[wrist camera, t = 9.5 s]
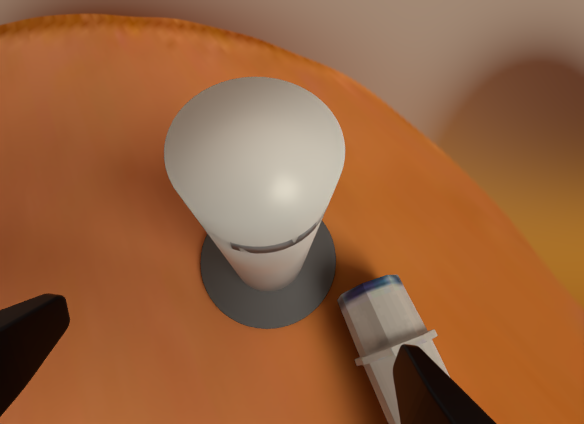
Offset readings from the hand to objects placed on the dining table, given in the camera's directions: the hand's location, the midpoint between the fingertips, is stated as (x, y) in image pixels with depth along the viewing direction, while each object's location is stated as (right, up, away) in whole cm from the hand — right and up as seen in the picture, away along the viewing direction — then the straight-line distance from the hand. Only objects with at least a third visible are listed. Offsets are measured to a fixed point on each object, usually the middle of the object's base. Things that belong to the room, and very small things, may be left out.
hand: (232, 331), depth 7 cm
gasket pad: (0, 0, +12) cm, 12 cm away
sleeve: (0, 0, +11) cm, 11 cm away
